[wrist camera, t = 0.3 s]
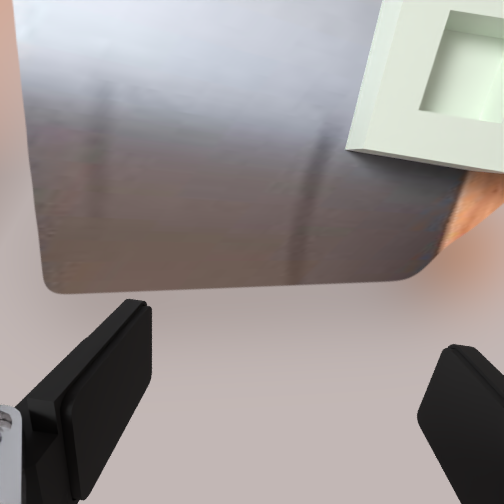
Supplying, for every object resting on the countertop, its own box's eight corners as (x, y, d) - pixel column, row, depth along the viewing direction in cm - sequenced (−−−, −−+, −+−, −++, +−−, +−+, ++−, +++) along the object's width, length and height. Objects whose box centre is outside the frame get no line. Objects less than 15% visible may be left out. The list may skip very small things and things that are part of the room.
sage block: (385, -10, 30) (419, -60, 23) (536, 14, 30) (618, -29, 23) (345, 149, 36) (363, 148, 28) (474, 171, 35) (524, 175, 28)
